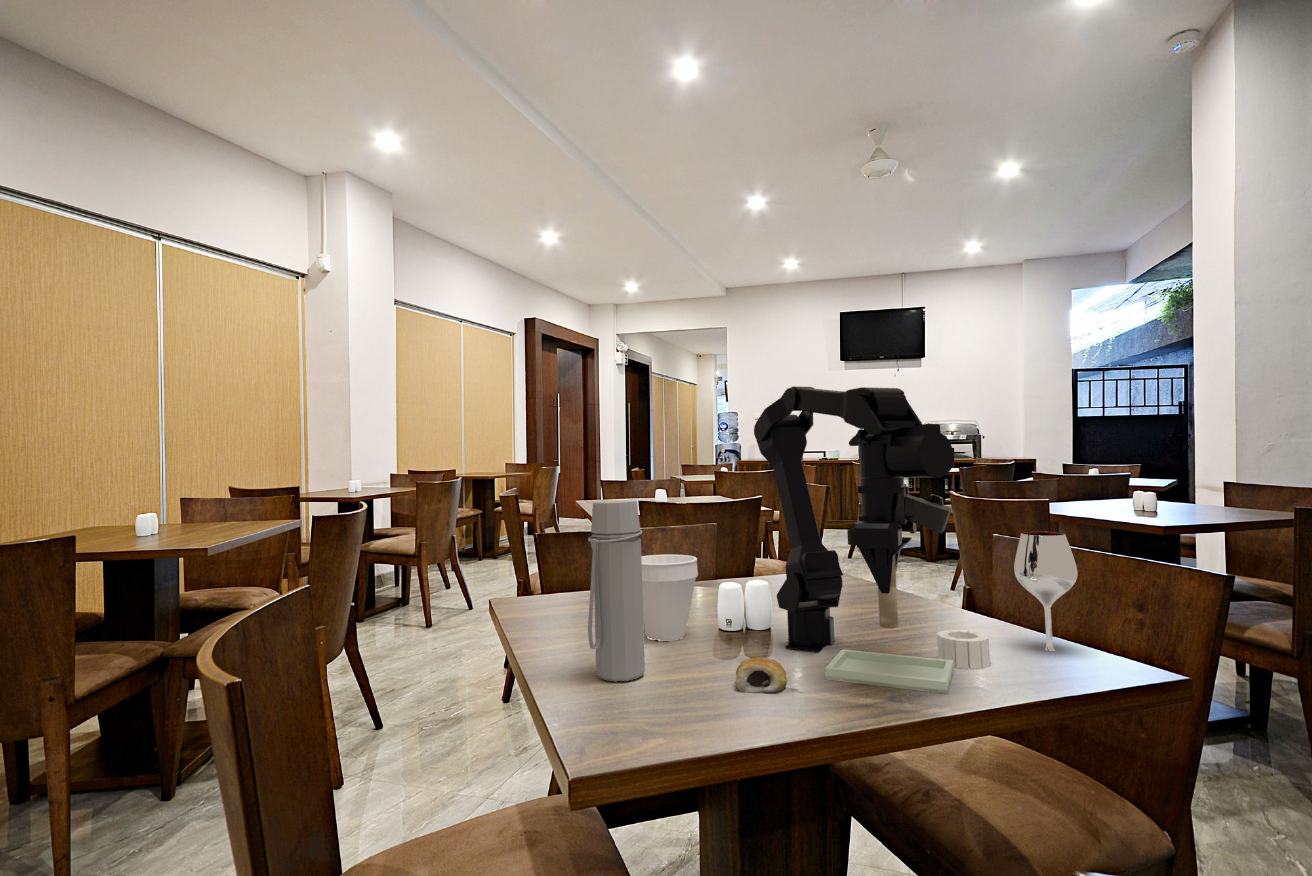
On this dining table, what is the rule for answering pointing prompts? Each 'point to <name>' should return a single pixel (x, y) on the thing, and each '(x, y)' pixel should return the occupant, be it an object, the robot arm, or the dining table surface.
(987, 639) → the holder
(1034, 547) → the wineglass
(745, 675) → the pastry
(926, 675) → the tray
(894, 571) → the dowel
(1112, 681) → the dining table surface
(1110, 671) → the dining table surface
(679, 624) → the cup
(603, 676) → the water bottle
